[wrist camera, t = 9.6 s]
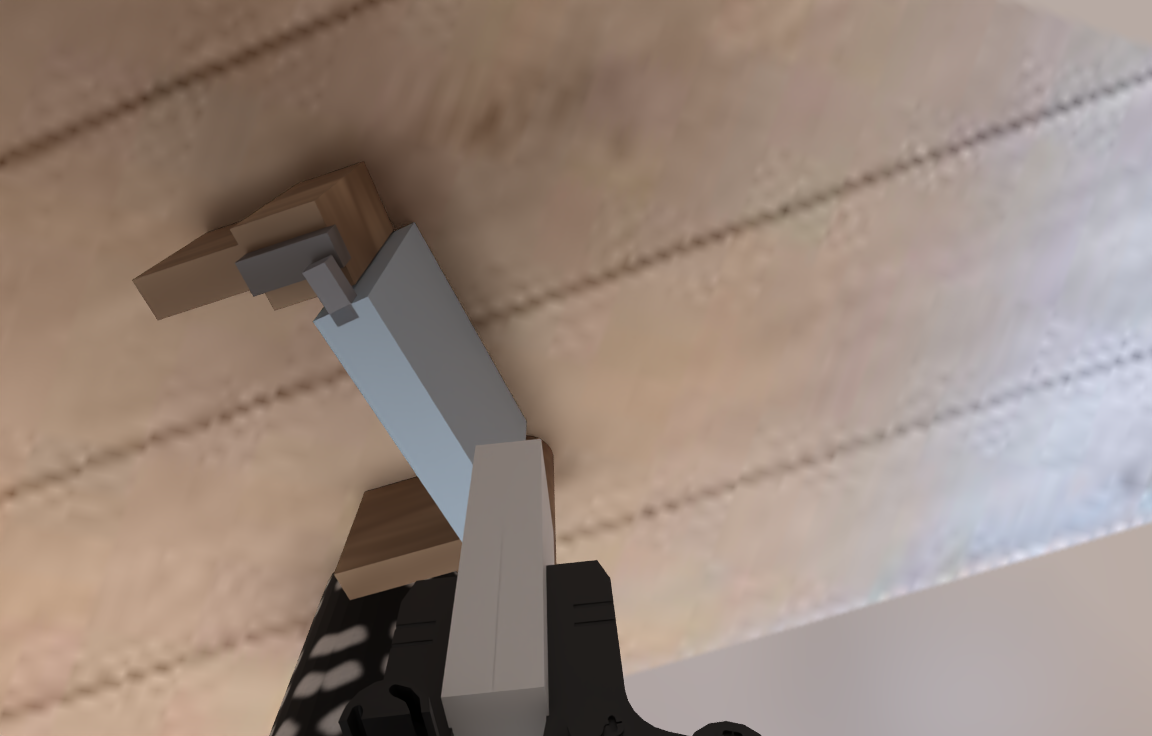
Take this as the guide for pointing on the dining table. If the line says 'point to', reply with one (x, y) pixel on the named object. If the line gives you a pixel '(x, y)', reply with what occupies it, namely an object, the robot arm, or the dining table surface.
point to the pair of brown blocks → (274, 266)
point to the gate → (417, 364)
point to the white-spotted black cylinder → (339, 658)
